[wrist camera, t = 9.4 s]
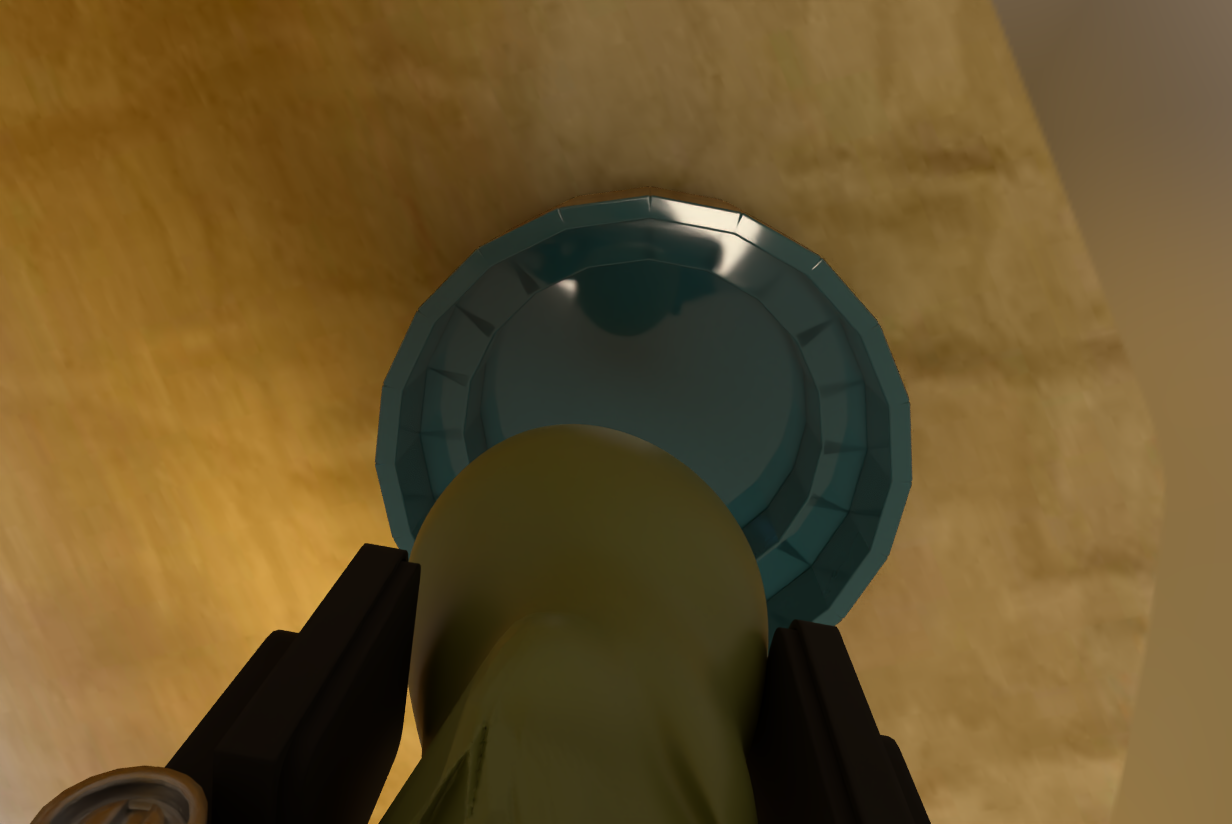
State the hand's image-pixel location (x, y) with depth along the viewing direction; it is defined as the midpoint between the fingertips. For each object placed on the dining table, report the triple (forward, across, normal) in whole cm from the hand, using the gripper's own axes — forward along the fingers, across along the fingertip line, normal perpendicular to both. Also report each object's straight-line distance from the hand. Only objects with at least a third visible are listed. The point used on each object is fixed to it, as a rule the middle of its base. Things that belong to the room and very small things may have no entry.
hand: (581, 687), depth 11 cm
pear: (+5, 0, 0) cm, 5 cm away
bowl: (+19, -1, +2) cm, 19 cm away
